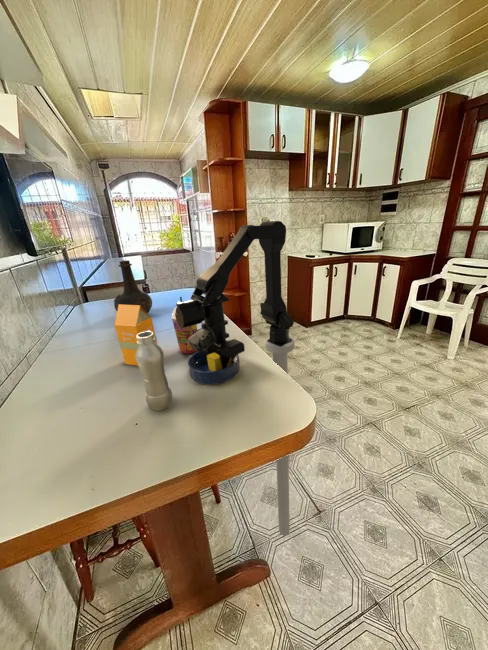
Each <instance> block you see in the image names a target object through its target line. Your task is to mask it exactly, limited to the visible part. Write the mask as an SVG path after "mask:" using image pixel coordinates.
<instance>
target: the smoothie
mask: <svg viewBox="0 0 488 650" xmlns="http://www.w3.org/2000/svg"><path fill="white" fill-rule="evenodd" d="M179 302H183V297H182V296H179ZM176 308H177V306H175V307H174V308H173V310H172V314H171V316H170V318H171V320H172V324H173V328H174V333H175V336H176V340H177V344H178V348H179V350H180V351H181V352H182V354H192V353H193V354H194V353H196V352H197V351H196V350H194V349H192V347H191V345H190V344H189V342H188V338H190V337H191V336H192V334H193V332H194V331H195V330H198V324H196V325H193V326H189V327H186V328H180V327H179V325H178V323H177V320H176V317H175V313H176Z"/></svg>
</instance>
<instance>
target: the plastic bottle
mask: <svg viewBox="0 0 488 650" xmlns="http://www.w3.org/2000/svg"><path fill="white" fill-rule="evenodd" d="M137 340H138V341H137V342H138V344H139V347H138V349H137V352H136V357H135V358H136V361H137V364H138V368H139V370H140V373H141V377H142V379H143V382H144V389H145V401H146V404H147V406H148V408H149V409H151V410H152V411H157V412H158V411H159V412H160V411H162V410H163V411H164V410H165V409H167V408H168V407H170V406H171V404H172V403H173V399H174V398H173V392H172V389H171V387H170V385H169V381H168V378H167V374H166V368H165V357H164V356H165V355H164V351H163V349H162V347H161V346H160V345H159V344H158V343H157V344H156V343H155V342H154V341H155V338H154V336H153V332H150V331H146V332H142V333H139V334H138V335H137Z"/></svg>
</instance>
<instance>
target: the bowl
mask: <svg viewBox="0 0 488 650" xmlns="http://www.w3.org/2000/svg"><path fill="white" fill-rule="evenodd" d="M207 355H209V352H208V350H207V349H206V350H205V349H204V350H203V351H202V352H197V351H195V352H194V353H193V354H191V356H190V357H189V358H188V360H187V368H188V374H189V376H190V379H191V380H192V381H194V382H195V383H197V384H201V385H218V384H222V383H226V382H228V381H230V380H232V379H234V378H235V377H236V376H237V375H238V374H239V373H240V370H241V366H240V356H239V354H237V355H235V356H233V357H231V362H232V365H231V366H229V367H227V368H225V369H221V370H218V371H210V370H209V367H208V360H207Z"/></svg>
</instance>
